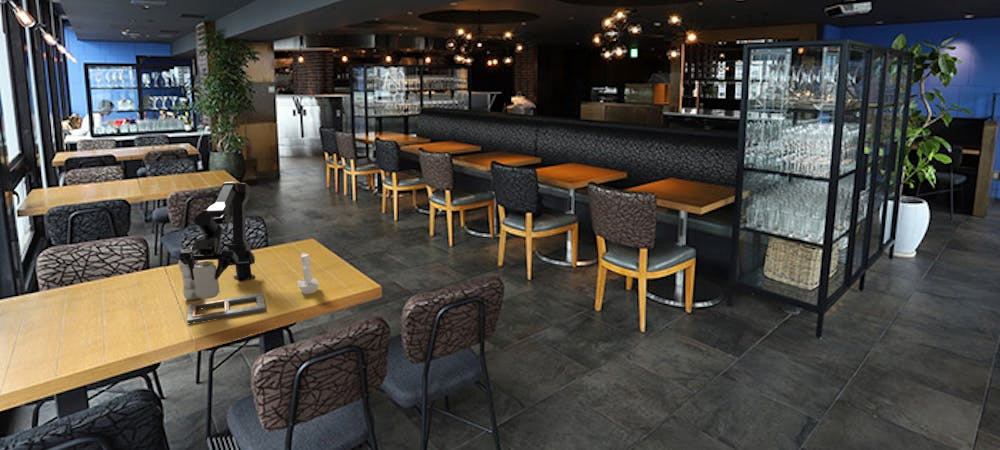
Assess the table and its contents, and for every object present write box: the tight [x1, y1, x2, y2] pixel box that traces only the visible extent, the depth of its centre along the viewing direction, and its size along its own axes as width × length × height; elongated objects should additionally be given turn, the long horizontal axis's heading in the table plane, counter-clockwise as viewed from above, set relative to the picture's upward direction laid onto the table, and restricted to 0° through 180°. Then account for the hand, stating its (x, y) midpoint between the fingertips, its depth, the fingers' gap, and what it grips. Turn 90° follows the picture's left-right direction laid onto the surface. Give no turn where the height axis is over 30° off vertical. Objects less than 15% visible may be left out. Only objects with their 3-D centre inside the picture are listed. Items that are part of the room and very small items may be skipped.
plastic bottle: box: [177, 246, 201, 301], centre depth 224 cm, size 6×7×20 cm
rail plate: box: [186, 292, 267, 324], centre depth 216 cm, size 25×15×2 cm, turn 115°
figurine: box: [296, 252, 320, 295], centre depth 230 cm, size 7×9×15 cm
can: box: [193, 260, 221, 300], centre depth 210 cm, size 8×8×12 cm
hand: (204, 279), depth 209 cm, fingers closed on can, 7 cm apart
